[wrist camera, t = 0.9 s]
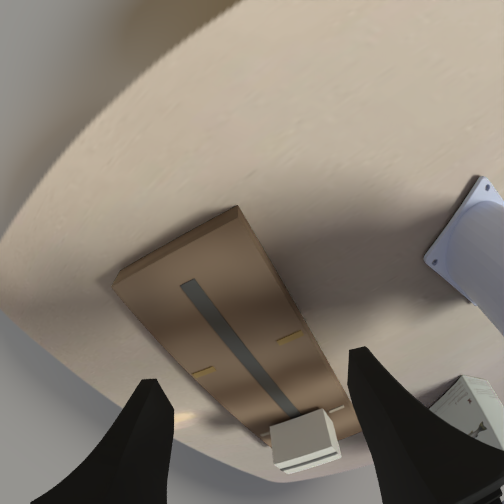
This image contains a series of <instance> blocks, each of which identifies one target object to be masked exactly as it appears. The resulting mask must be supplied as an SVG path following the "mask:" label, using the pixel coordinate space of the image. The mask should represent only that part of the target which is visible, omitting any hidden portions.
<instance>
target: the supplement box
mask: <svg viewBox="0 0 504 504" xmlns="http://www.w3.org/2000/svg"><path fill="white" fill-rule="evenodd" d="M429 410H430V411H432V412H433V413H434V414H436V415H437V416H439V417H440V418H441V419H443V420H444V421H446V422H447V423H449V424H450V425H452V426H454V427H455V428H457V429H459V430H461V431H462V432H464V433H466V434H468V435H469V436H471V437H473V438H475V439H477V440H479V441H481V442H483V443H486V444H488V445H490V446H493V447H495V448H498V449H500V450H503V451H504V406H503V405H502V403H501V402H500V400H499V398H498V397H497V395H496V393H495V392H494V390H493V389H492V387H491V386H490V384H489V382H488V381H487V380H484V379H479V378H474V377H470V376H465V375H462V376H461V377H460V378H459V380H458V381H457V382H456V383H455V384H454V385H453V386H452V387H451V388H450V389H449V390H448V391H447V392H446V393H445V394H444V395H443V396H442V397H441V398H440V399H439V400H438V401H437V402H436V403H435V404H434V405H433V406H432V407H430V408H429Z"/></svg>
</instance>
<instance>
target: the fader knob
mask: <svg viewBox="0 0 504 504" xmlns="http://www.w3.org/2000/svg"><path fill="white" fill-rule="evenodd" d="M270 434H271V444H272V453H273V462H274V465H275V466H277V467H278V468H280V470H281V471H284V472H285V473H287V474H291V473H295V472H298V471H302V470H305V469H309V468H312V467H315V466H318V465H321V464H324V463H327V462H330V461H333V460H336V459H339V458H342V456H341V452H340V448H339V445H338V441H337V437H336V433H335V429H334V425H333V422H332V420H331V419H330V418H329V416H328V415H327V414H326V412H325V411H324V409H323V408H321V409H319V410H316V411H313V412H311V413H308V414H305V415H303V416H300V417H297V418H294V419H291V420H288V421H285V422H283V423H279V424H276V425H273V426H270Z"/></svg>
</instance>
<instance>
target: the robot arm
mask: <svg viewBox="0 0 504 504" xmlns="http://www.w3.org/2000/svg"><path fill="white" fill-rule="evenodd" d="M486 185H487V187H486ZM485 187H486V189H485ZM434 260H435V261H434ZM433 261H434V262H433ZM424 262H425V263H426V264H427V265H428V266H429V267H431V268H432V269H433V270H434V271H436V272H437V273H438V274H439V275H440V276H442V277H443V278H444V279H445V280H446V281H447V282H449V283H450V284H451V285H452V286H453V287H455V288H456V289H457V290H458V291H459V292H460V293H461V294H463V295H464V296H465V297H466V298H467V299H468V300H469V301H470V302H472V303H473V304H474V305H475V306H478V307H479V308H480V309H481V311H482V312H483V313H484V314H485V315H486V316H487V317H488V319H489V320H490V321H491V322H492V323H493V324H494V325H495V327H496V328H497V329H498V330H499V331H500V333H501V334H502V335H503V336H504V201H503V199H502V198H501V196H500V195H499V194H498V192H497V191H496V189H495V188H494V186H493V185H492V184H491V182H490V181H489V180H488V178H487V177H485V176H480V177H479V178H478V180H477V182H476V183H475V185H474V186H473V188H472V189H471V191H470V192H469V194H468V196H467V197H466V199H465V200H464V201H463V203H462V204H461V206H460V207H459V209H458V210H457V212H456V213H455V215H454V216H453V217H452V219H451V220H450V222H449V223H448V225H447V226H446V227H445V229H444V230H443V231H442V233H441V234H440V235H439V237H438V238H437V240H436V241H435V242H434V244H433V245H432V246H431V247H430V249H429V250H428V251H427V253H426V254H425V256H424ZM432 262H433V263H432ZM347 385H348V389H349V393H350V397H351V400H352V404H353V408H354V410H355V413H356V416H357V418H358V421H359V423H360V426H361V429H362V431H363V434H364V436H365V439H366V442H367V444H368V447H369V450H370V452H371V455H372V458H373V461H374V465H375V469H376V474H377V478H378V482H379V487H380V491H381V496H382V502H383V504H504V501H502V502H501V500H500V496H502V491H501V489H500V487H501V486H502V485H504V451H503V450H500V449H498V448H495V447H493V446H490V445H488V444H486V443H483V442H481V441H479V440H477V439H475V438H473V437H471V436H469V435H468V434H466V433H464V432H462V431H461V430H459V429H457V428H455V427H454V426H452V425H450V424H449V423H447V422H446V421H444V420H443V419H441V418H440V417H439V416H437V415H436V414H434V413H433V412H432V411H430V410H429V409H428V408H427V407H425V406H424V405H423V404H422V403H421V402H419V401H418V400H417V399H416V398H415V397H414V396H413V395H411V394H410V393H409V392H408V391H407V390H406V389H405V388H404V387H403V386H402V385H401V384H400V383H399V382H398V381H397V380H396V379H395V378H394V377H393V376H392V375H391V374H390V373H389V372H388V371H387V370H386V369H385V368H384V367H383V365H382V364H381V363H380V362H379V361H378V360H377V359H376V358H375V356H374V355H373V354H372V353H371V352H370V350H369V349H368V348H367V347H365V346H364V347H360V348H356V349H352V350H349V364H348V382H347ZM173 434H174V408H173V407H172V405H171V403H170V402H169V400H168V398H167V397H166V395H165V393H164V391H163V390H162V388H161V386H160V385H159V383H158V381H157V379H142V380H141V382H140V383H139V385H138V386H137V388H136V389H135V391H134V392H133V394H132V396H131V397H130V399H129V400H128V402H127V403H126V405H125V407H124V408H123V410H122V411H121V413H120V414H119V416H118V417H117V419H116V420H115V422H114V423H113V425H112V426H111V428H110V429H109V430H108V432H107V433H106V434H105V436H104V437H103V439H102V440H101V441H100V442H99V444H98V445H97V446H96V447H95V449H94V450H93V451H92V452H91V453H90V454H89V456H88V457H87V458H86V459H85V460H84V461H83V462H82V463H81V464H80V465H79V466H78V467H77V468H76V469H75V470H74V471H73V472H72V473H70V474H69V475H68V476H67V477H66V478H65V479H64V480H62V481H61V482H60V483H59V484H57V485H56V486H55V487H53V488H52V489H51V490H49V491H48V492H47V493H45V494H43V495H42V496H40V497H38V498H37V499H35V500H34V501H32V502H31V503H30V504H167V478H168V471H169V463H170V456H171V449H172V442H173Z"/></svg>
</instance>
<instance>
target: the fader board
mask: <svg viewBox="0 0 504 504" xmlns="http://www.w3.org/2000/svg"><path fill="white" fill-rule="evenodd" d="M111 287H112V289H113V290H114V291H115V292H116V294H117V295H118V296H119V297H120V298H121V300H122V301H123V302H124V303H125V304H126V306H127V307H128V308H129V309H130V310H131V311H132V313H133V314H134V315H135V316H136V317H137V318H138V320H139V321H140V322H141V323H142V324H143V325H144V326H145V327H146V329H147V330H148V331H149V332H150V333H151V334H152V335H153V336H154V337H155V339H156V340H157V341H158V342H159V343H160V344H161V345H162V346H163V347H164V348H165V349H166V350H167V351H168V353H169V354H170V355H171V356H172V357H173V358H174V359H175V360H176V361H177V362H178V363H179V364H180V365H181V366H182V367H183V368H184V369H185V370H186V371H187V372H188V373H189V374H190V375H191V376H192V377H193V378H194V379H195V380H196V381H197V382H198V383H199V384H200V385H201V386H202V387H203V388H204V389H205V390H206V391H207V392H208V393H209V394H210V395H212V396H213V397H214V398H215V399H216V400H217V401H218V402H219V403H220V404H221V405H222V406H223V407H224V408H226V409H227V410H228V411H229V412H230V413H231V414H232V415H233V416H234V417H236V418H237V419H238V420H239V421H240V422H241V423H242V424H244V425H245V426H246V427H247V428H248V429H249V430H251V431H252V432H253V433H254V434H255V435H256V436H258V437H259V438H260V439H261V440H262V441H264V442H265V443H266V444H267V445H268V446H270V447H271V448H272V444H271V434H270V426H273V425H276V424H279V423H283V422H285V421H288V420H291V419H294V418H297V417H300V416H303V415H305V414H308V413H311V412H313V411H316V410H319V409H321V408H323V409H324V411H325V412H326V414H327V415H328V416H329V418H330V419H331V420H332V422H333V425H334V429H335V433H336V437H337V441H338V440H341V439H344V438H346V437H349V436H351V435H354V434H356V433H359V432H361V431H362V429H361V426H360V423H359V421H358V418H357V416H356V413H355V410H354V408H353V405H352V403H351V402H350V400H349V398H348V396H347V394H346V393H345V391H344V389H343V387H342V386H341V384H340V382H339V380H338V378H337V377H336V375H335V373H334V371H333V370H332V368H331V366H330V364H329V363H328V361H327V359H326V357H325V356H324V354H323V352H322V350H321V348H320V347H319V345H318V343H317V341H316V340H315V338H314V336H313V334H312V333H311V331H310V329H309V327H308V326H307V324H306V322H305V320H304V319H303V317H302V315H301V313H300V312H299V310H298V308H297V306H296V305H295V303H294V301H293V299H292V298H291V296H290V294H289V292H288V291H287V289H286V287H285V286H284V284H283V282H282V280H281V279H280V277H279V275H278V273H277V272H276V270H275V268H274V266H273V265H272V263H271V261H270V260H269V258H268V256H267V254H266V253H265V251H264V249H263V248H262V246H261V244H260V242H259V241H258V239H257V237H256V235H255V234H254V232H253V230H252V229H251V227H250V225H249V223H248V222H247V220H246V218H245V217H244V215H243V213H242V212H241V210H240V208H239V206H238V205H237V206H235V207H234V208H232V209H230V210H228V211H226V212H224V213H222V214H220V215H219V216H217V217H215V218H213V219H211V220H209V221H207V222H206V223H204V224H202V225H200V226H198V227H196V228H195V229H193V230H191V231H189V232H187V233H185V234H184V235H182V236H180V237H178V238H176V239H175V240H173V241H171V242H169V243H168V244H166V245H164V246H162V247H160V248H159V249H157V250H155V251H153V252H152V253H150V254H148V255H146V256H145V257H143V258H141V259H139V260H138V261H136V262H134V263H133V264H131V265H129V266H127V267H126V268H124V269H122V270H121V271H120V272H119V274H118V276H117V277H116V279H115V281H114V283H113V284H112V286H111Z"/></svg>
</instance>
